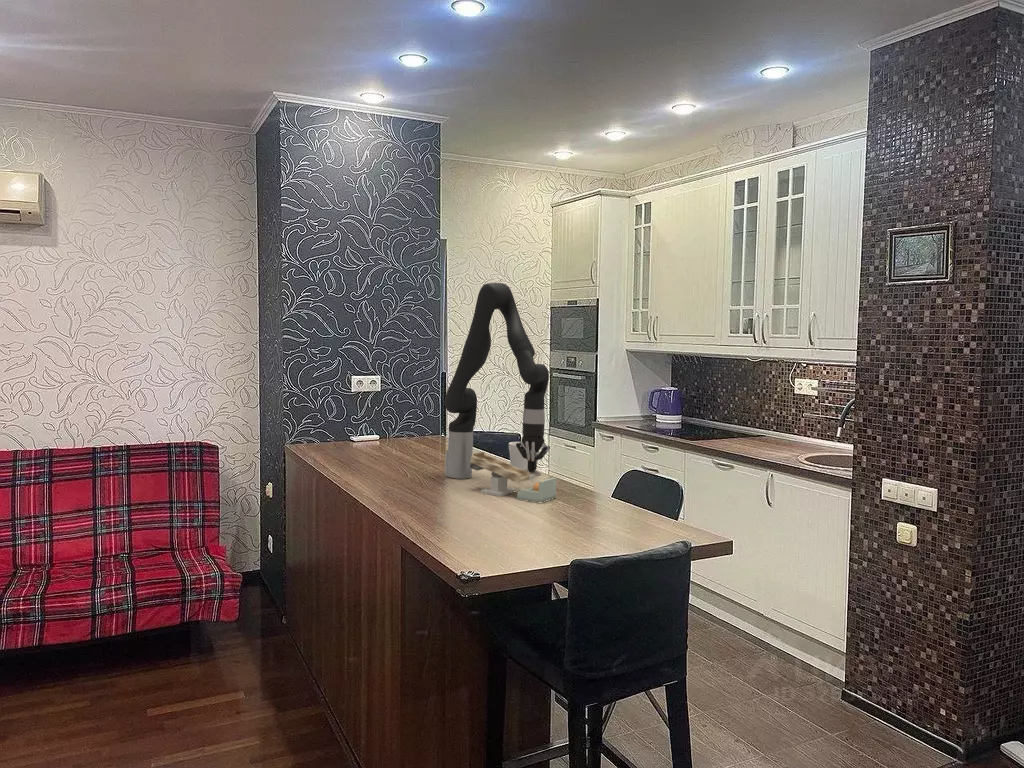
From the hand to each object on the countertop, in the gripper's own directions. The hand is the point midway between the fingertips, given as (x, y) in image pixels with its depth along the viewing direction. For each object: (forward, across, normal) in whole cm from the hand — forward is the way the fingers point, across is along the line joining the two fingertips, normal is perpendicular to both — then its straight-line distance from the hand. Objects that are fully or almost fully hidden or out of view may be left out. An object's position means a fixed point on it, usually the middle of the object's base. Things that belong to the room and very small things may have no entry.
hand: (532, 471), depth 273 cm
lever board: (+2, -8, -5) cm, 10 cm away
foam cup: (+7, -16, +18) cm, 25 cm away
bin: (+7, +7, -9) cm, 14 cm away
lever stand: (+7, -8, -9) cm, 14 cm away
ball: (+3, +8, -9) cm, 12 cm away
